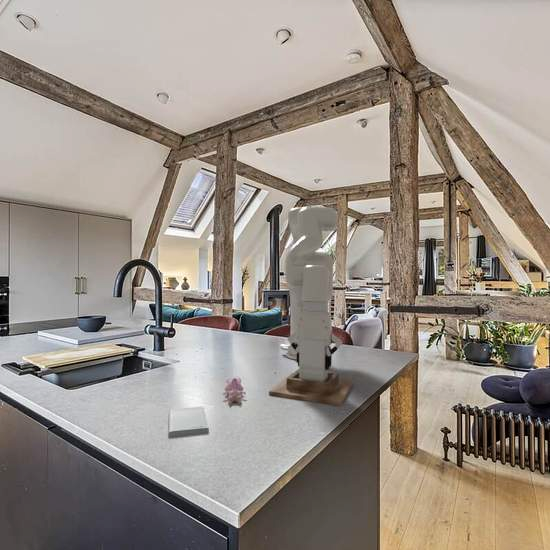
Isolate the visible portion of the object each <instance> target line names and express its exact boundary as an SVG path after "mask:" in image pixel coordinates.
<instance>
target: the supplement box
mask: <svg viewBox="0 0 550 550" xmlns="http://www.w3.org/2000/svg"><path fill="white" fill-rule="evenodd" d="M325 356H326V352H325V347H324V340H314V339H299V367H298V369H299V379H304V380H311V381H319V382H325V381H326V380H327V378H328V370H329V369H328V370H325Z"/></svg>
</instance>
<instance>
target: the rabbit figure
mask: <svg viewBox="0 0 550 550" xmlns="http://www.w3.org/2000/svg"><path fill="white" fill-rule="evenodd" d="M226 384H227V385H226V386H225V388H224V391H225V392H223V393H222V395H223V396H224V395H226V394H227V395H228V396H227V401H228V402H229V403H228V405H233V403H234V402H236V403H237V405H241V404H242V399H243V398H242V397H243V396H242V394H244V395H246V394H247V391H244V387H243V385H242V379H241V377H240V376H235V377H232V376H227V378H226Z"/></svg>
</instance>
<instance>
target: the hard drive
mask: <svg viewBox="0 0 550 550" xmlns="http://www.w3.org/2000/svg"><path fill="white" fill-rule="evenodd" d="M209 432H210V429H209V423H208V419H207V414H206V411H205V407H204V406H193V407H180V408H172V409H169V410H168V438H169V437H179V436H188V435H197V434H198V435H199V434H206V433H207V434H208V433H209Z"/></svg>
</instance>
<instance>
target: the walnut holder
mask: <svg viewBox="0 0 550 550" xmlns="http://www.w3.org/2000/svg"><path fill="white" fill-rule="evenodd" d="M339 376H340V374H339V372H336V371H328V378H327V380H326V381H325V382H319V381H311V380H304V379H299V368H298V369H297V370H295V371H294V372H291V373H290V374H288V376H286V377H284V379H282V380H281V381H280V382H279V383H277V384H276V385H275V386H273V387H272V388H271V389H270V390H269V391H268V395H269V396H274V397H280V398H287V399H295V400H300V401H305V402H306V401H307V402H313V403H319V404H325V403H326V404H325V405H331V404H332V406H337V405H338V406H339V407H341V406H342V404H343V403H342V402H344V401H345V399H346V397H347V396H348V393H349V392H350V391H351V389H350V388H352V386H353V385H354V380H350V379H343V378H340V377H339ZM346 395H347V396H346Z"/></svg>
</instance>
